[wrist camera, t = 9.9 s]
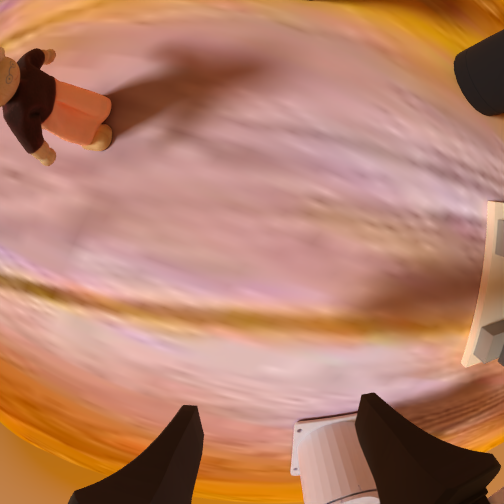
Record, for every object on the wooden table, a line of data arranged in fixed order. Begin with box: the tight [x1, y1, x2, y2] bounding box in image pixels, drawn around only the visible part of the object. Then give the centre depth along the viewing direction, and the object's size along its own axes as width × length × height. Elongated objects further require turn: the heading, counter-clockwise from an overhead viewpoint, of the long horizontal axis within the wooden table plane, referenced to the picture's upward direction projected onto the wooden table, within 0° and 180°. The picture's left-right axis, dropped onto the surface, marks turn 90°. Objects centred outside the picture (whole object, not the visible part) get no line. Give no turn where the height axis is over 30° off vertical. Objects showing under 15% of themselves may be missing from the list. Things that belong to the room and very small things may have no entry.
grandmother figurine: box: [0, 47, 112, 166], centre depth 11 cm, size 8×4×13 cm, turn 20°
